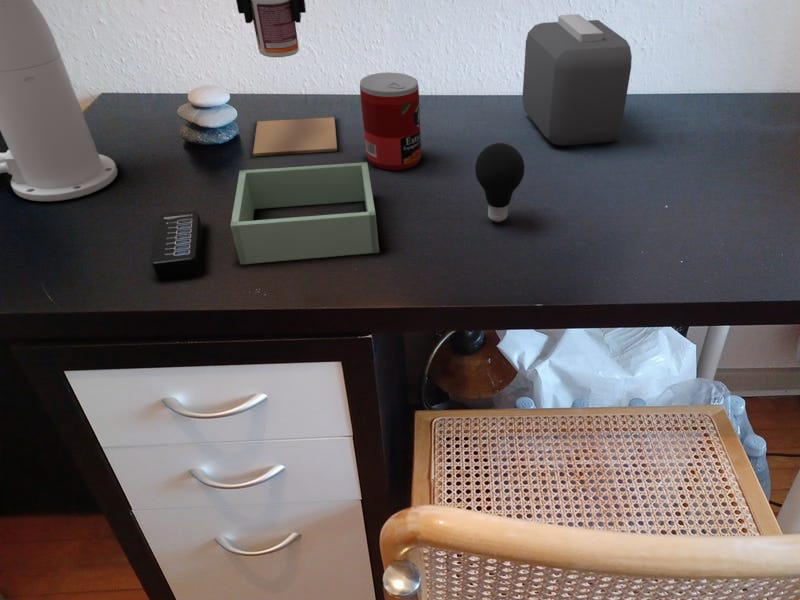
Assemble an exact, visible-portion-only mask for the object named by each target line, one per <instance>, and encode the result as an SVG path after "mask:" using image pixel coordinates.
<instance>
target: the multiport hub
mask: <svg viewBox="0 0 800 600" xmlns="http://www.w3.org/2000/svg"><path fill="white" fill-rule="evenodd" d="M203 233H204V226H203V224H202V220H201V217H200V213H199V211H198V210H189V211H187V210H186V211H179V212H169V213H162V214H159V215H158V218H157V226H156V231H155V237H154V244H153V252H152V258H151V264H152V267H153V270H154V273H155V275H156V278H157V281H161V282H163V281H170V280H177V279H178V280H179V279H187V278H193V277H198V276H200V275H201V272H202V271H201V270H202V269H201V268H202V254H203V253H202V252H203V236H204V235H203Z"/></svg>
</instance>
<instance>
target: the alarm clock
mask: <svg viewBox="0 0 800 600" xmlns="http://www.w3.org/2000/svg"><path fill="white" fill-rule="evenodd" d="M524 49H525V50H524V65H523V67H524V68H523V80H522V81H523V83H522V99H521V100H522V105H523V110H524V112H525V113H526V114H527V116H528V117H529V118H530V120H531V121H532V123H534V125H535V126H536V127H537V128H538V130H539V131H540V132H541V133H542V135H543V136H544V138H545V139H547V141H549V143H551V144H552V145H555V146H575V145H586V144H596V143H597V144H598V143H608V142H616V141H617V140H618V138H620V134H621V130H622V126H623V120H624V114H625V107H626V102H627V95H628V89H629V83H630V77H631V72H632V56H633V55H632V50H631V46H630V44H629V42H628V40H627V39H625V38H624V37H622V36H621V35H619V34H618V33H617V32H615V30H613V29H611V28H610V27H609V26H607V25H606V24H605V23H603V22H601V21H600V19H592V20H591V19H590V20H589V19H586V18H584V17H583V16H582V15H581V14H578V13H577V14H576V13H575V14H559V15H558V19H557V21H551V22H540V23H537V24H534V26H533V27H532V28H531V29H530V30H529V31H528V32H527V36H526V39H525V48H524Z"/></svg>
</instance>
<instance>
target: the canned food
mask: <svg viewBox="0 0 800 600" xmlns="http://www.w3.org/2000/svg"><path fill="white" fill-rule="evenodd" d="M419 90H420V87H419V81H418V79H417V78H415V77H413V76H411V75H409V74H406V73H400V72H377V73H371V74H369V75H366V76H364V77H362V78H361V79H360V81H359V92H360V93H359V95H360V96H359V97H360V105H361V115H362V125H363V133H364V135H363V136H364V141H365V144H364V146H365V153H366V157H367V160H368V162H369V163H370V164H371V165H372V166H374V167H376V168H378V169H382V170H388V171H400V170H401V171H402V170H407V169H410V168H412V167H415V166H416V165H417V164H418V163H419V162H420V159H421V156H422V141H421V140H422V139H421V138H422V137H421V114H420V91H419Z"/></svg>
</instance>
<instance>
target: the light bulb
mask: <svg viewBox="0 0 800 600" xmlns="http://www.w3.org/2000/svg"><path fill="white" fill-rule="evenodd" d="M475 161H476V162H475V165H474V173H475V177H476V180H477V182H478V183H479V185H480V186H481V188H482V189H483V190H484V194H485V199H486V202H487V206H488V208H487V216H488V218H489V219H490V220H491V221H492V222H494V223H497V224H498V223H501V222H503V221H504V220H506V219H507V218H508V214H509V205H510V202H511V200H512V196H513V193H514V192H515V190H516V189H517V188H518V187H519V185H520V184H521V182H522V180H523V179H524V175H525V162H524V159H523V157H522V154H521V153H520V152H519V150H517V148H515V147H514V146H513V145H510V144H509V143H505V142H496V143H492V144H490V145H488V146H486V147H485V148H483V149H482V151H481V152H480V153H479V154H478V155H477V158H476V160H475Z"/></svg>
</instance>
